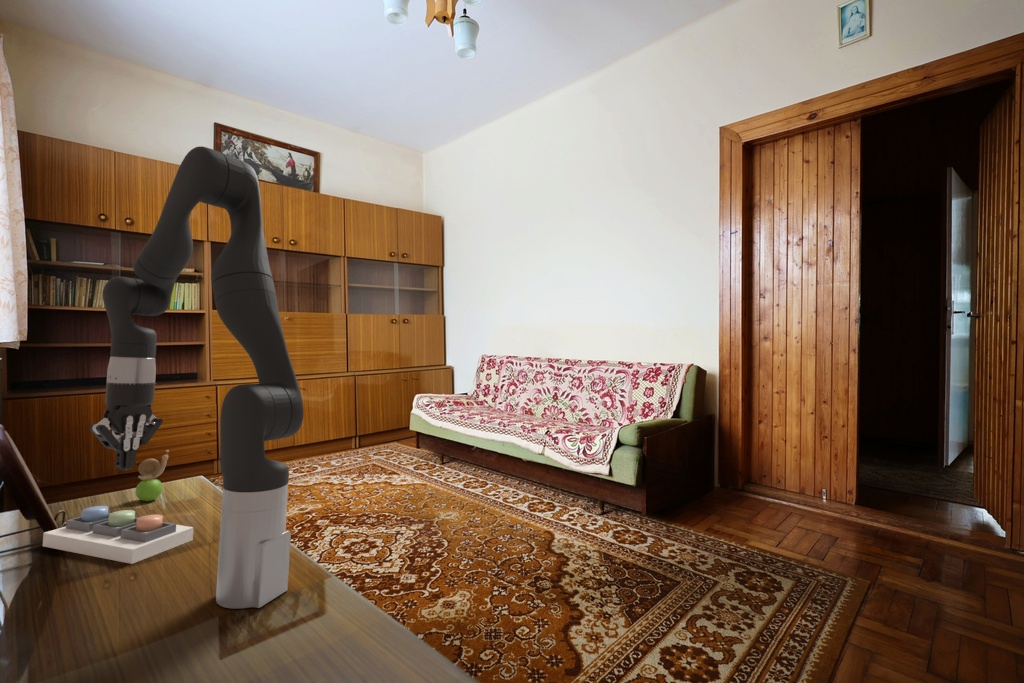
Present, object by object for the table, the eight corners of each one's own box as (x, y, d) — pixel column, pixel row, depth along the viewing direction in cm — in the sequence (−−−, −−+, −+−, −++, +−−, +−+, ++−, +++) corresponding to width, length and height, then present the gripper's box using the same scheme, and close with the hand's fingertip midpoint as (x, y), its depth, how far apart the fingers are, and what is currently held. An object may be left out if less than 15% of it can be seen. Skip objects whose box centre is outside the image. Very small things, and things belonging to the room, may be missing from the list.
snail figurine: (170, 499, 122) (173, 451, 122) (140, 505, 116) (143, 455, 117) (160, 495, 125) (163, 448, 125) (130, 501, 119) (134, 451, 120)
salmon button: (167, 526, 94) (168, 516, 94) (146, 533, 90) (147, 522, 90) (151, 523, 95) (152, 513, 95) (130, 530, 91) (131, 519, 91)
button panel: (192, 540, 97) (194, 519, 97) (131, 563, 85) (133, 540, 86) (110, 525, 103) (111, 506, 103) (42, 546, 91) (44, 524, 91)
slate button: (112, 517, 97) (113, 507, 97) (91, 523, 94) (91, 513, 94) (97, 514, 98) (98, 504, 99) (75, 521, 95) (76, 510, 95)
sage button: (139, 521, 96) (140, 511, 96) (118, 528, 92) (119, 517, 92) (124, 519, 97) (124, 509, 97) (102, 525, 93) (103, 515, 93)
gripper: (110, 382, 88) (103, 479, 87) (177, 380, 101) (171, 464, 100) (79, 380, 90) (72, 474, 89) (149, 378, 102) (143, 460, 102)
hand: (125, 469), depth 95 cm, fingers closed
